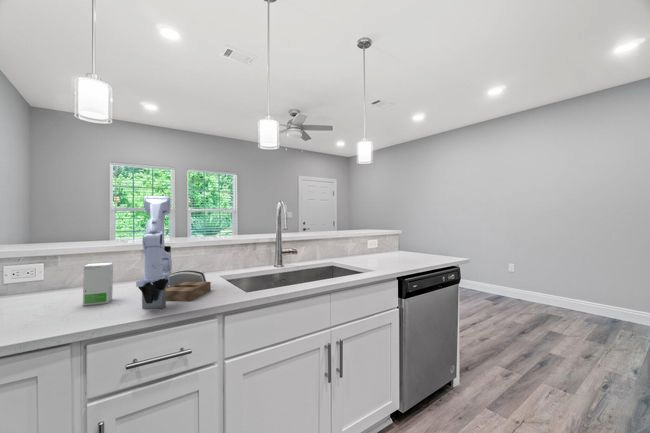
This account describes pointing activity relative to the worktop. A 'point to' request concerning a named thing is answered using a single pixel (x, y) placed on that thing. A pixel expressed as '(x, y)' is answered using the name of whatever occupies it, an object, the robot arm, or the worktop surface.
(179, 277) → the grey arched slab
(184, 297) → the slotted tan panel
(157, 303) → the grey flat-faced block
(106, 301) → the skincare box
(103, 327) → the worktop surface
